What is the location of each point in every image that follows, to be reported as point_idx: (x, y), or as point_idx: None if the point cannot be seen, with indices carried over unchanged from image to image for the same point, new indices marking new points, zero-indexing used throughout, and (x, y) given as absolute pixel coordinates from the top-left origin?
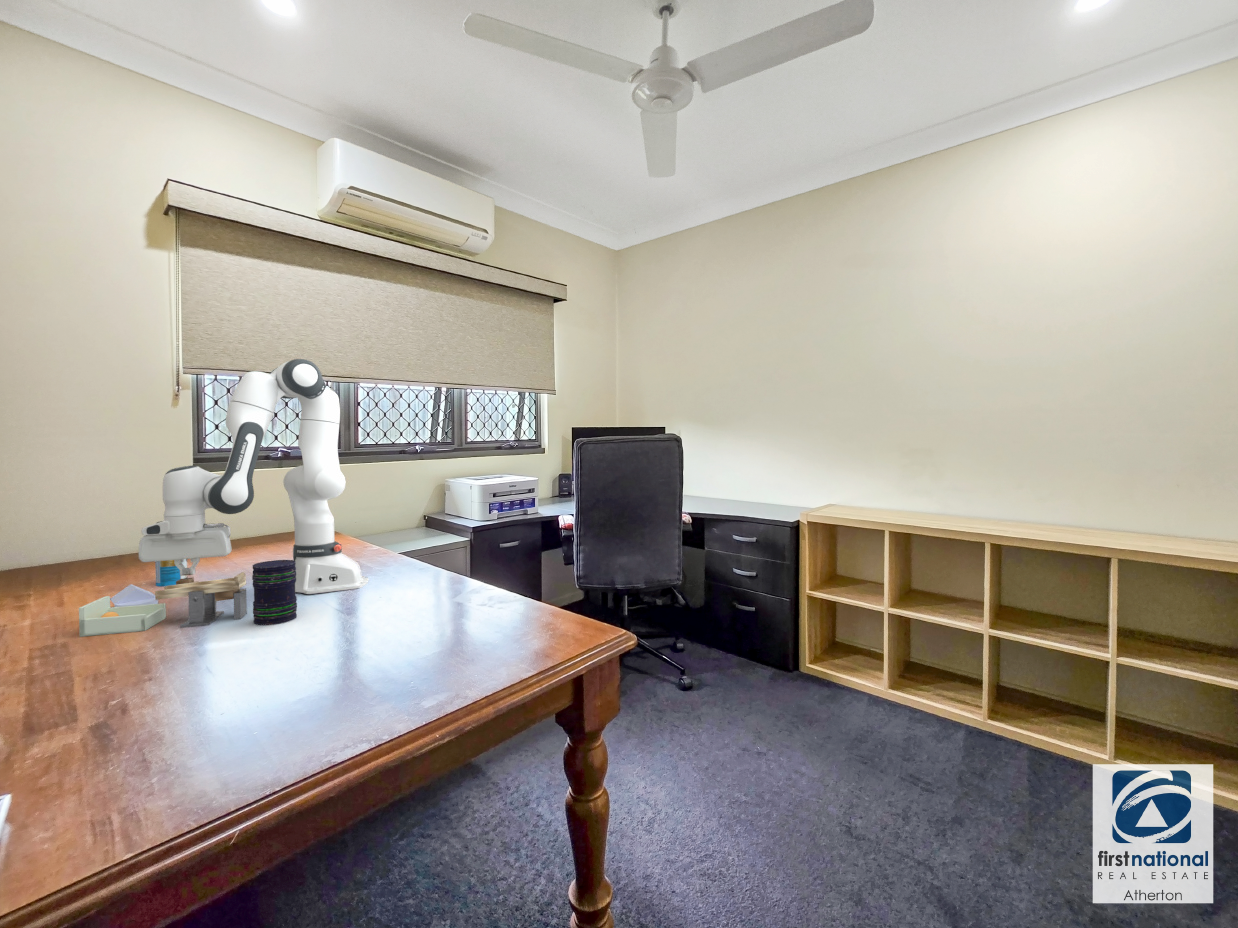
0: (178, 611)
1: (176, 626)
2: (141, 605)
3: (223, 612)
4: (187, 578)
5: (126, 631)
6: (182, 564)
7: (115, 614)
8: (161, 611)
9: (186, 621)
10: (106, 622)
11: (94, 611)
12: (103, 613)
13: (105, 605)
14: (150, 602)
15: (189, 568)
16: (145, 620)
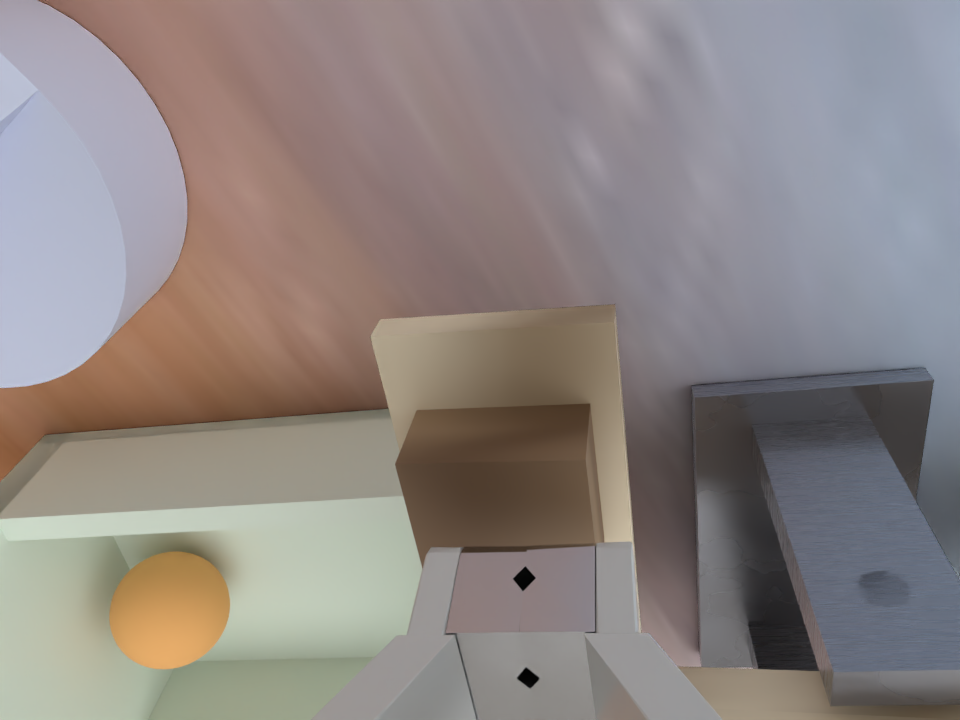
0: (414, 202)
1: (657, 623)
2: (233, 520)
3: (926, 390)
4: (510, 489)
5: None
6: (394, 714)
7: (200, 645)
8: None
9: (705, 601)
10: None
11: (81, 709)
12: (56, 578)
13: (7, 605)
14: (130, 281)
15: (571, 690)
16: None
